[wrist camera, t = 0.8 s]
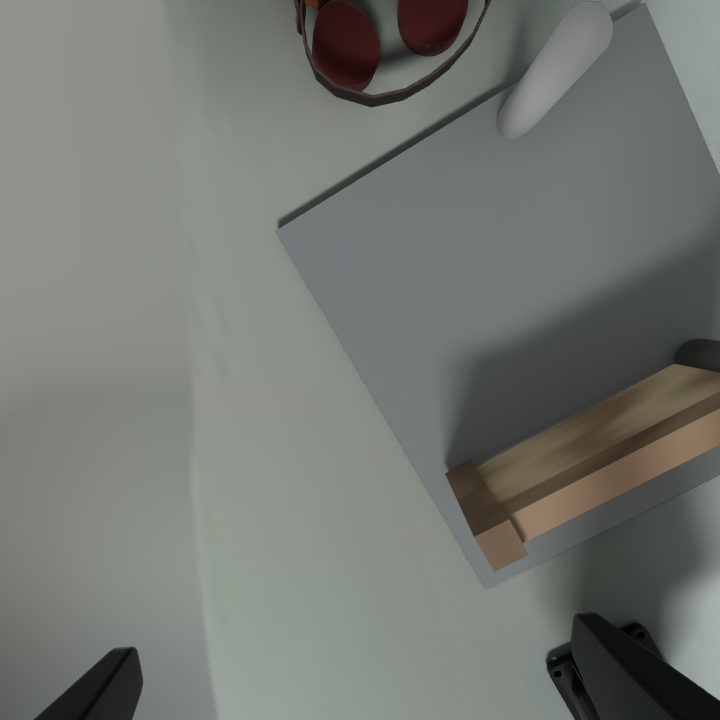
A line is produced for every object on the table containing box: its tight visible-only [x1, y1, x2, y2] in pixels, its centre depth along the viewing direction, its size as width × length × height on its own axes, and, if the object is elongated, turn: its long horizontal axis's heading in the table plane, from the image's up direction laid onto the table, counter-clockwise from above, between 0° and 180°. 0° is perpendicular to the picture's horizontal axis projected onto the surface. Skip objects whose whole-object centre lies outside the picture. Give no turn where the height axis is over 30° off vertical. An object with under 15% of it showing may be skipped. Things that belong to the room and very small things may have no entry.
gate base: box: [275, 1, 720, 590], centre depth 18 cm, size 24×21×7 cm
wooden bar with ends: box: [445, 338, 720, 572], centre depth 18 cm, size 16×2×6 cm, turn 120°
